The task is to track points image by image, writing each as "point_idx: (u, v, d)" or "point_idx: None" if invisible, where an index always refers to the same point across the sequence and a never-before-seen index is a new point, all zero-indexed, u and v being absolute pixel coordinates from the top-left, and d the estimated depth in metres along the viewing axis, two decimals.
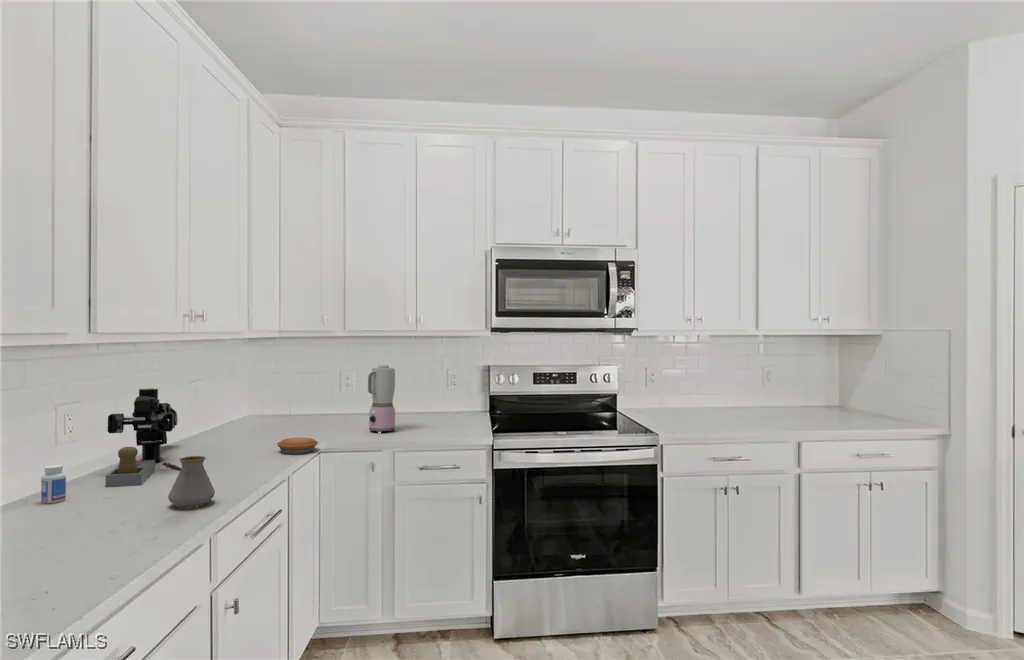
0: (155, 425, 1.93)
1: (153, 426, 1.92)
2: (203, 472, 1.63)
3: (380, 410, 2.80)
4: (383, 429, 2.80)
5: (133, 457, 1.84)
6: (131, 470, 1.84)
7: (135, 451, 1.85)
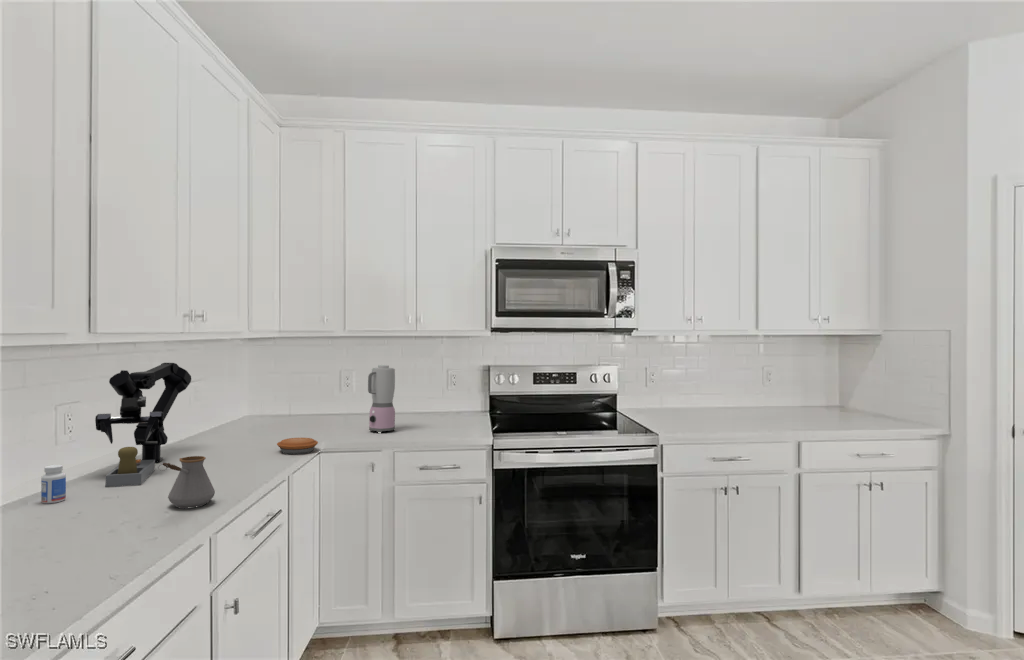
0: (148, 436, 1.93)
1: (146, 439, 1.92)
2: (203, 472, 1.63)
3: (380, 410, 2.80)
4: (383, 429, 2.80)
5: (133, 457, 1.84)
6: (131, 470, 1.84)
7: (135, 451, 1.85)
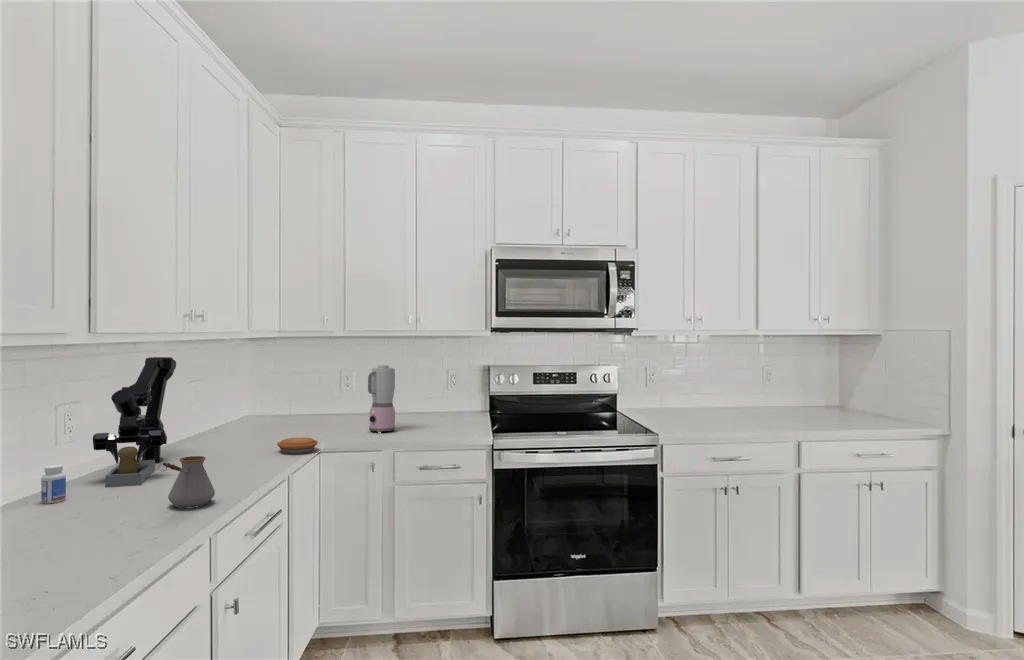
0: (140, 456, 1.86)
1: (138, 459, 1.85)
2: (203, 472, 1.63)
3: (380, 410, 2.80)
4: (383, 429, 2.80)
5: (133, 457, 1.84)
6: (131, 470, 1.84)
7: (135, 451, 1.85)
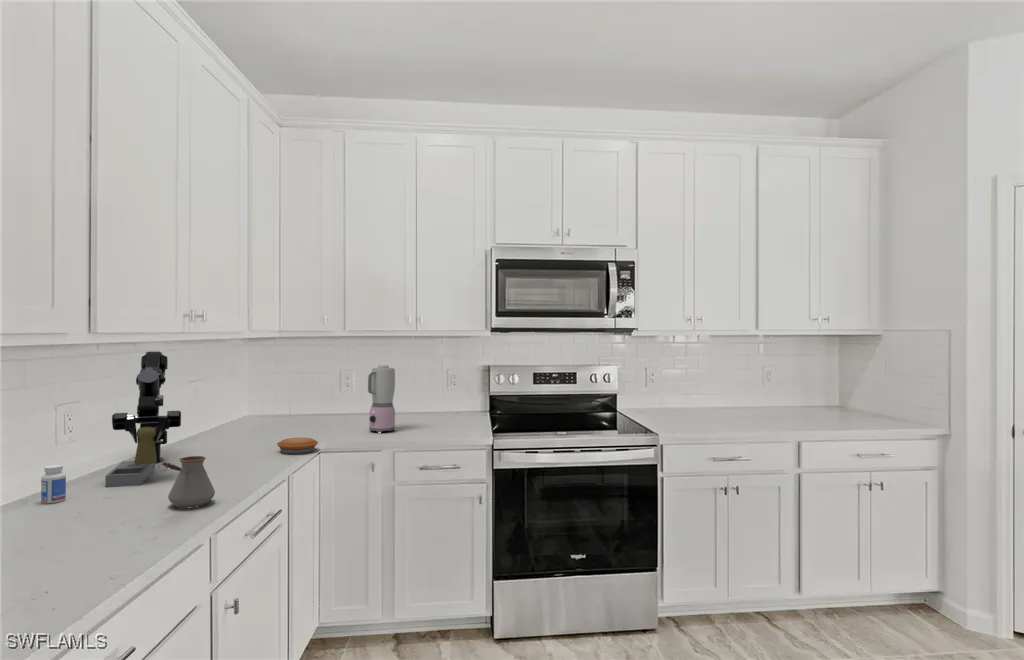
0: (158, 436, 1.86)
1: (157, 440, 1.86)
2: (203, 472, 1.63)
3: (380, 410, 2.80)
4: (383, 429, 2.80)
5: (151, 437, 1.84)
6: (150, 450, 1.84)
7: (153, 431, 1.85)
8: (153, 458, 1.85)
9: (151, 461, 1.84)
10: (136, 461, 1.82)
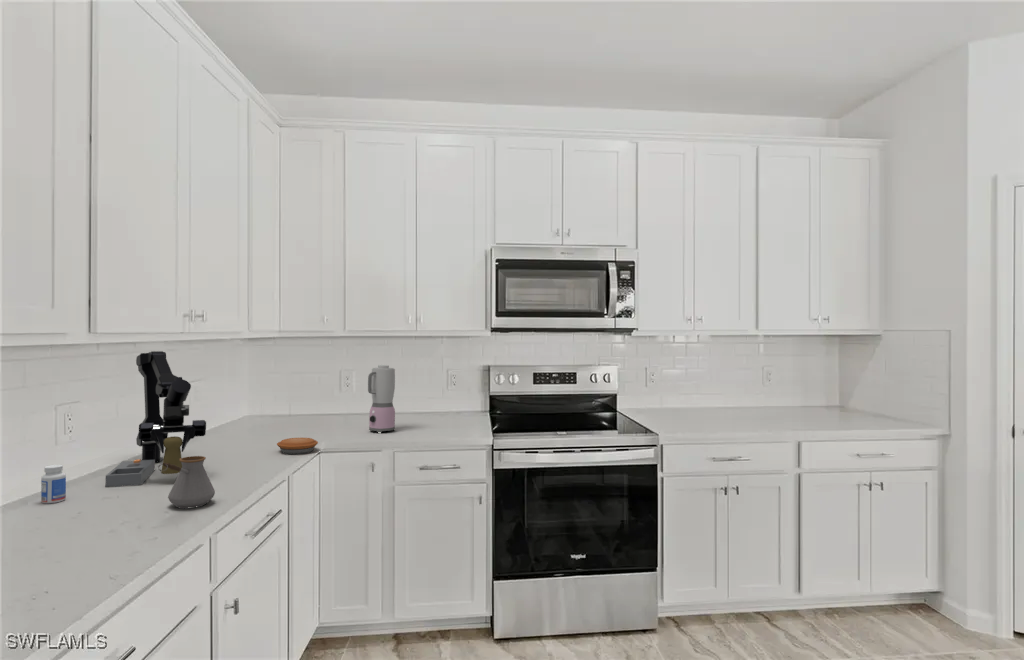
0: (184, 446, 1.87)
1: (183, 449, 1.87)
2: (203, 472, 1.63)
3: (380, 410, 2.80)
4: (383, 429, 2.80)
5: (178, 447, 1.85)
6: (177, 460, 1.85)
7: (180, 441, 1.86)
8: None
9: (178, 471, 1.85)
10: (163, 471, 1.83)
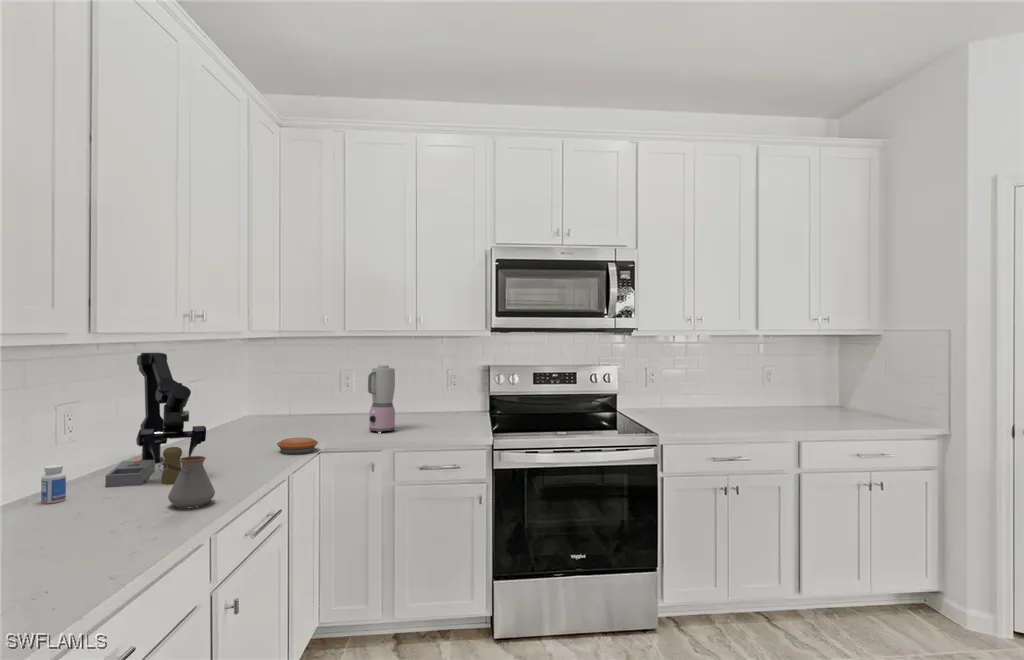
0: (191, 451, 1.88)
1: (190, 455, 1.87)
2: (203, 472, 1.63)
3: (380, 410, 2.80)
4: (383, 429, 2.80)
5: (178, 457, 1.85)
6: (176, 470, 1.85)
7: (180, 451, 1.86)
8: None
9: None
10: (163, 481, 1.83)
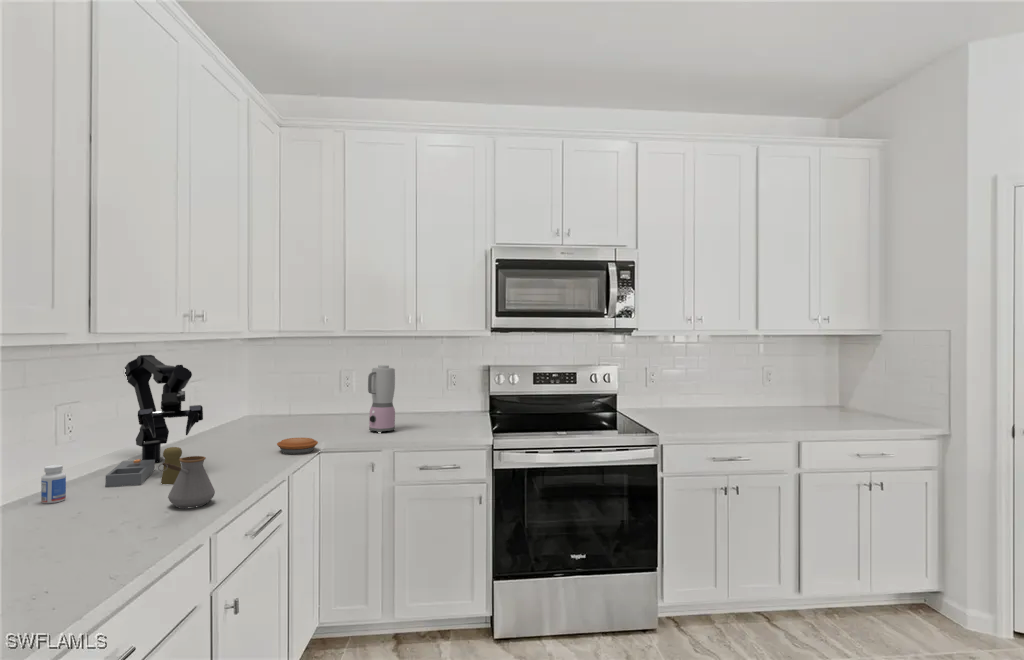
0: (189, 430, 1.96)
1: (187, 433, 1.95)
2: (203, 472, 1.63)
3: (380, 410, 2.80)
4: (383, 429, 2.80)
5: (178, 457, 1.85)
6: (176, 470, 1.85)
7: (180, 451, 1.86)
8: None
9: None
10: (163, 481, 1.83)
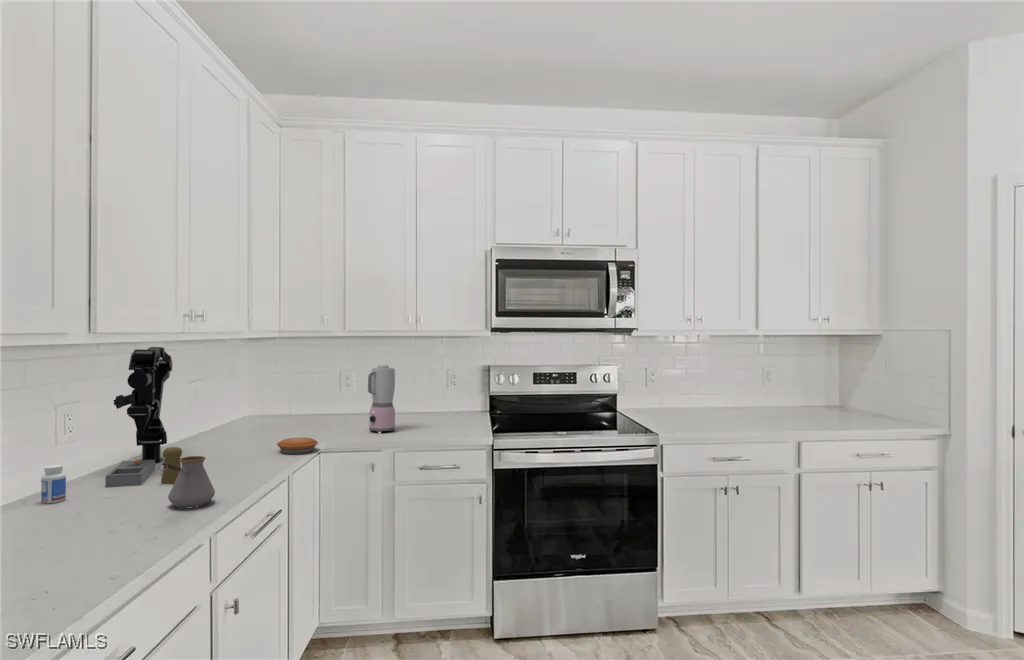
0: (139, 429, 1.95)
1: (140, 432, 1.95)
2: (203, 472, 1.63)
3: (380, 410, 2.80)
4: (383, 429, 2.80)
5: (178, 457, 1.85)
6: (176, 470, 1.85)
7: (180, 451, 1.86)
8: None
9: None
10: (163, 482, 1.83)
